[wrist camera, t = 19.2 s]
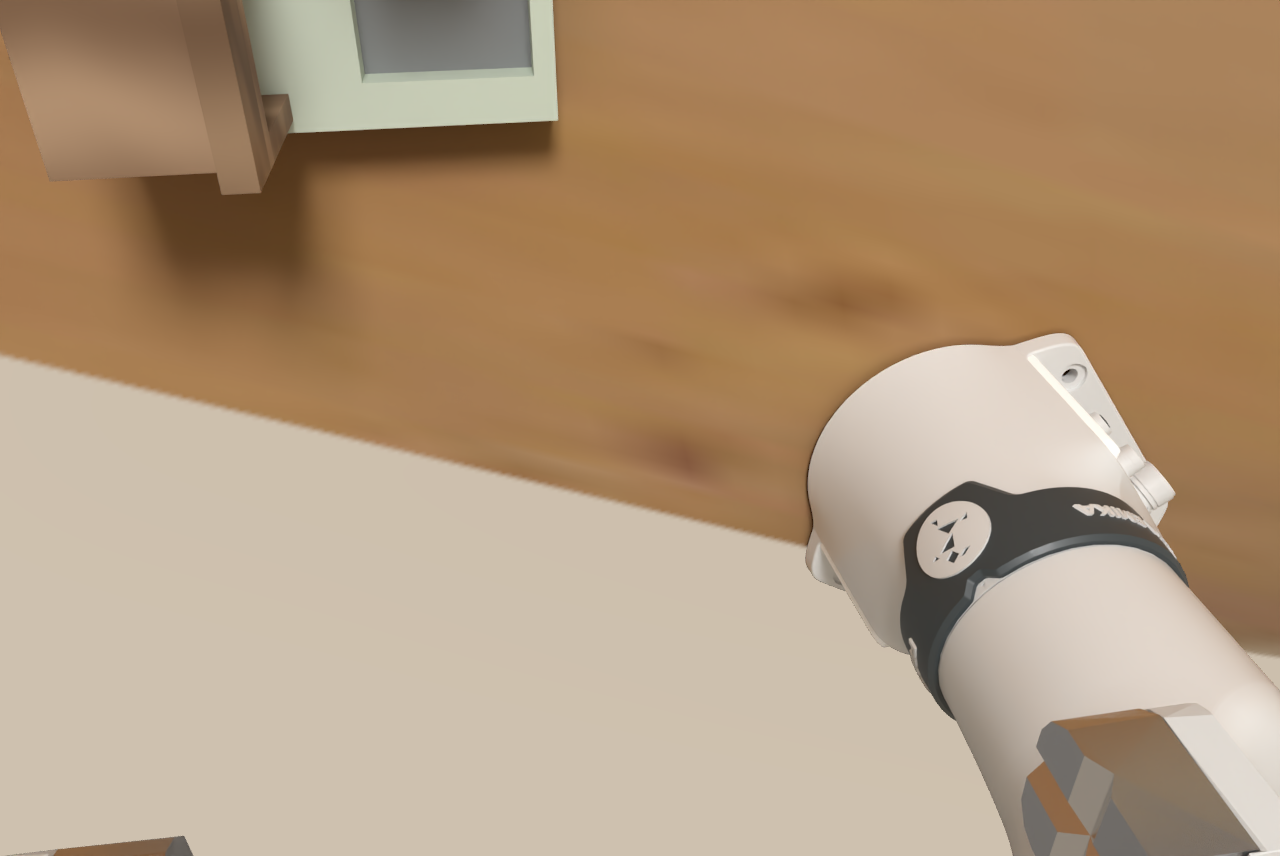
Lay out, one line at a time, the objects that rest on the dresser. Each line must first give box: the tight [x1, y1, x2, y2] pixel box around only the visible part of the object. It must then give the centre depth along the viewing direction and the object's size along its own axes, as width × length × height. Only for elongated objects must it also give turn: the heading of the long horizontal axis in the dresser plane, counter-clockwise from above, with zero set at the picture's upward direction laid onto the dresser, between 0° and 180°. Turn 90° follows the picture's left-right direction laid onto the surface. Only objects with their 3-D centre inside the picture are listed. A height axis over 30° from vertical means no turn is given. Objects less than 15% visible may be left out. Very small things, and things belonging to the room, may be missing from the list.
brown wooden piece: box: [0, 0, 293, 195], centre depth 33 cm, size 9×7×8 cm
